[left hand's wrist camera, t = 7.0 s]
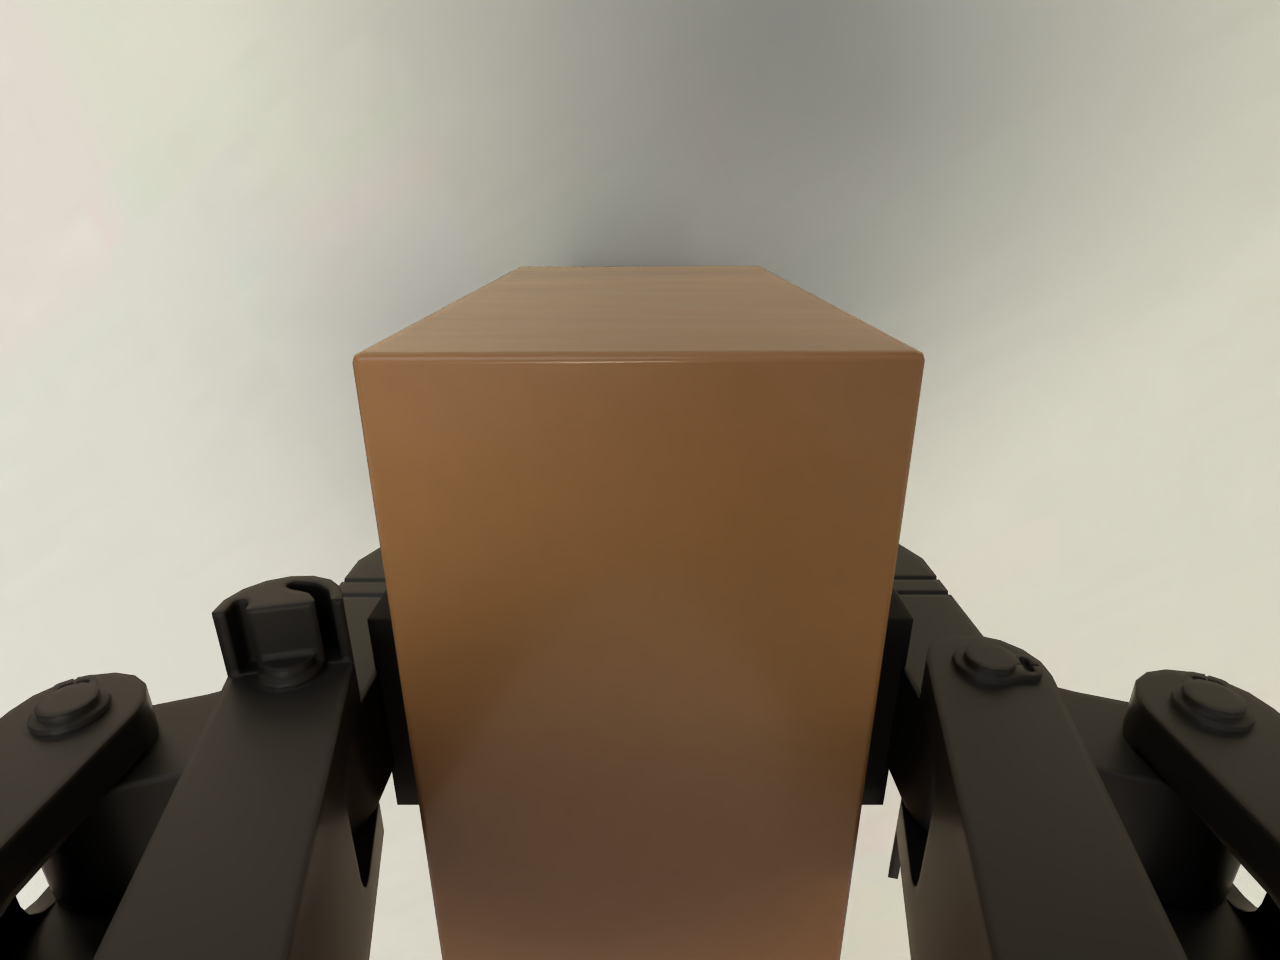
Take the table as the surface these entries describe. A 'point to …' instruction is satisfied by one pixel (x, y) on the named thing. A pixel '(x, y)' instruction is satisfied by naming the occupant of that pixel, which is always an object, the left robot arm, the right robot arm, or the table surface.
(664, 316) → the bar
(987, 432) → the table surface
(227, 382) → the table surface
